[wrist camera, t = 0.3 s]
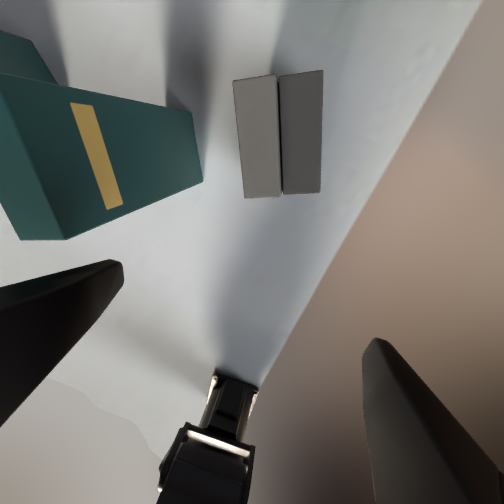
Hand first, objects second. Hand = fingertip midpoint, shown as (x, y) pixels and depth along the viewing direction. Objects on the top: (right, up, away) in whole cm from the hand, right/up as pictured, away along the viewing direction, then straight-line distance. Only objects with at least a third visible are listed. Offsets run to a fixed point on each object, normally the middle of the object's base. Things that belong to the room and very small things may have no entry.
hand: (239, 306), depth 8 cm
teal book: (-5, +11, +13) cm, 17 cm away
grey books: (+3, +11, +10) cm, 15 cm away
